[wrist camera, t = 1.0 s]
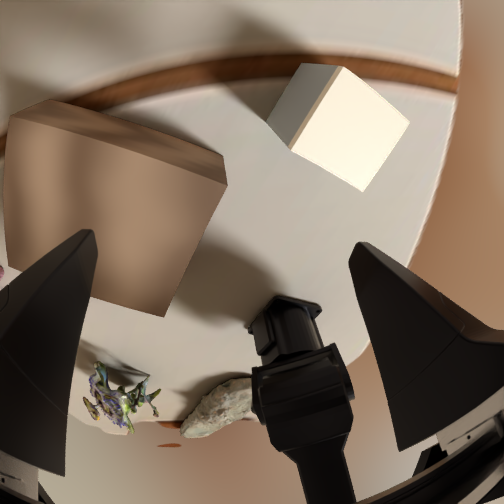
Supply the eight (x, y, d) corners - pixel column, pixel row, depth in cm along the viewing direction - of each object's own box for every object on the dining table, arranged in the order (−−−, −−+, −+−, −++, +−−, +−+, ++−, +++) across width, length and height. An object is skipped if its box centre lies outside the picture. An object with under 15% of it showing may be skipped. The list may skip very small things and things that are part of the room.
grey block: (356, 100, 17) (410, 122, 12) (322, 152, 20) (362, 192, 15) (301, 62, 15) (343, 66, 10) (265, 121, 18) (290, 150, 13)
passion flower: (105, 335, 38) (72, 365, 26) (170, 354, 39) (155, 393, 27) (102, 392, 38) (76, 430, 26) (161, 410, 40) (149, 455, 28)
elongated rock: (170, 422, 57) (208, 423, 61) (171, 441, 53) (210, 442, 57) (215, 371, 37) (275, 373, 41) (220, 405, 33) (282, 403, 37)
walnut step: (223, 155, 19) (227, 185, 15) (168, 274, 25) (164, 317, 21) (49, 99, 13) (10, 115, 9) (32, 229, 19) (8, 266, 15)
